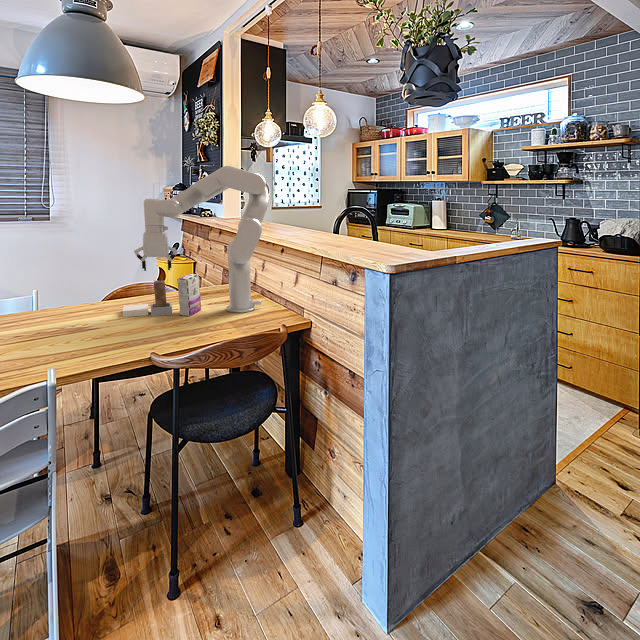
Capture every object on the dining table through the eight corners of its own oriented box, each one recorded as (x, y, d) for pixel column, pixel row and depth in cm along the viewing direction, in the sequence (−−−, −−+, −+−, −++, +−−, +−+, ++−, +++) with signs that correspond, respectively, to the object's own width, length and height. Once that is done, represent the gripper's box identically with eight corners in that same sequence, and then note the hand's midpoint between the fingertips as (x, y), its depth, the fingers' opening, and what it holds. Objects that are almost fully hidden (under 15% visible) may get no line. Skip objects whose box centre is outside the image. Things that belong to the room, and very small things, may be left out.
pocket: (171, 309, 209) (171, 302, 208) (172, 314, 201) (171, 307, 200) (151, 311, 206) (150, 303, 206) (151, 316, 199) (150, 308, 198)
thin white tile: (148, 309, 209) (148, 304, 209) (148, 315, 200) (147, 309, 200) (124, 310, 206) (123, 305, 206) (123, 316, 197) (122, 311, 196)
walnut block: (167, 311, 207) (164, 280, 203) (167, 314, 203) (164, 282, 199) (156, 312, 205) (153, 280, 201) (156, 314, 201) (153, 282, 197)
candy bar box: (191, 309, 211) (189, 273, 206) (201, 310, 210) (199, 274, 205) (179, 315, 200) (176, 278, 196) (190, 316, 199) (187, 278, 195)
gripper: (176, 228, 200) (177, 268, 205) (132, 228, 195) (135, 269, 199) (177, 230, 193) (178, 271, 198) (132, 230, 188) (135, 272, 192)
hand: (157, 270), depth 199 cm, fingers open, 9 cm apart
